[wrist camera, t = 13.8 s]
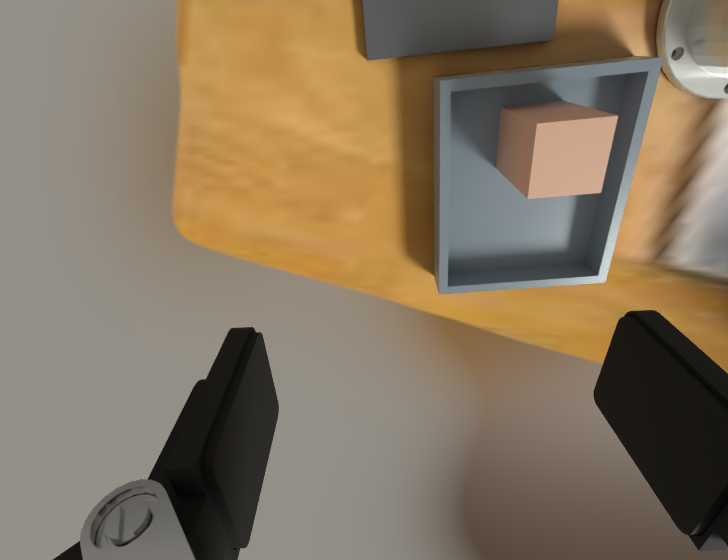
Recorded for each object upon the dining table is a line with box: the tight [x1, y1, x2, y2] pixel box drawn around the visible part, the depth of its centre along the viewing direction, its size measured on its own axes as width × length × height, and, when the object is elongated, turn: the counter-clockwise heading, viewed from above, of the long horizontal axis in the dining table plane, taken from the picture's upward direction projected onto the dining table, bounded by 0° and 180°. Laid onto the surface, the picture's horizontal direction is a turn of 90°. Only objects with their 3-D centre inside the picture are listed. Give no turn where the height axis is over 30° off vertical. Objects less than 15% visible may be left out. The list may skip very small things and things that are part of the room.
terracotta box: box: [496, 101, 618, 199], centre depth 29 cm, size 5×5×8 cm
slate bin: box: [434, 56, 664, 294], centre depth 34 cm, size 19×16×4 cm
